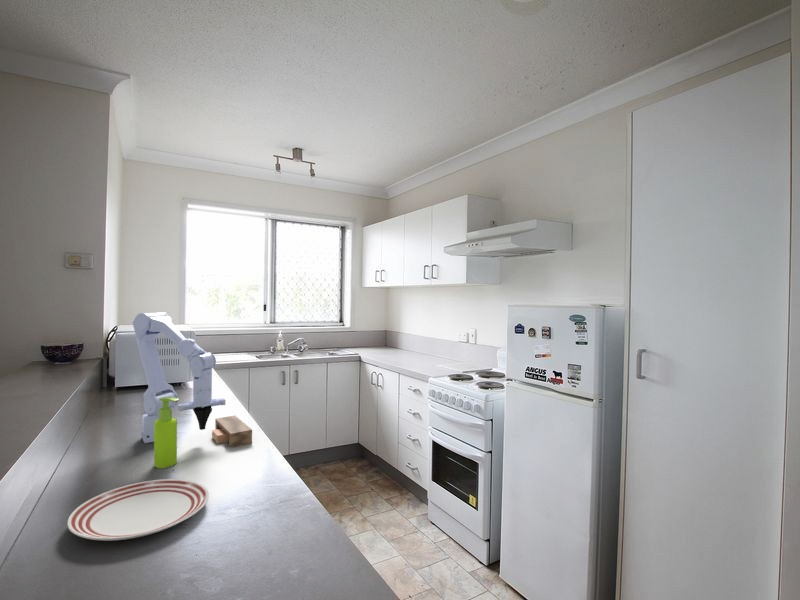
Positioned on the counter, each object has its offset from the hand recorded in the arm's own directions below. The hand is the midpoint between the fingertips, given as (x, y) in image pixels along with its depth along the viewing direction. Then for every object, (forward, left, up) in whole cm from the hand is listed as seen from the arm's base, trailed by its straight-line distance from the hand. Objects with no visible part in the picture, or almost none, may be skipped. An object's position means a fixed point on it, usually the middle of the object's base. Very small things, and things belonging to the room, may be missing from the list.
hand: (202, 428), depth 143 cm
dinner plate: (-21, -42, -5) cm, 47 cm away
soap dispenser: (-12, -13, -5) cm, 19 cm away
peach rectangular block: (+8, 0, -5) cm, 9 cm away
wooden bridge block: (+9, 0, -5) cm, 10 cm away
